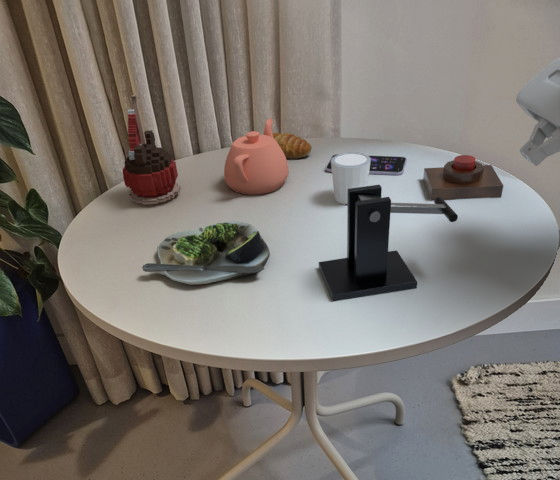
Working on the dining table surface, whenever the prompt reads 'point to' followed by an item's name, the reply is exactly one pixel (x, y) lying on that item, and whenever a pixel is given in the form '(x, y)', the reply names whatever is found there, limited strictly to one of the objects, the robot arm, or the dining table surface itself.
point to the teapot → (256, 163)
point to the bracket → (367, 252)
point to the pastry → (292, 145)
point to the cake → (147, 164)
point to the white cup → (349, 173)
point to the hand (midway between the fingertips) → (527, 158)
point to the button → (464, 163)
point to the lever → (419, 207)
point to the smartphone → (382, 165)
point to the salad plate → (211, 253)
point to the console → (462, 182)
